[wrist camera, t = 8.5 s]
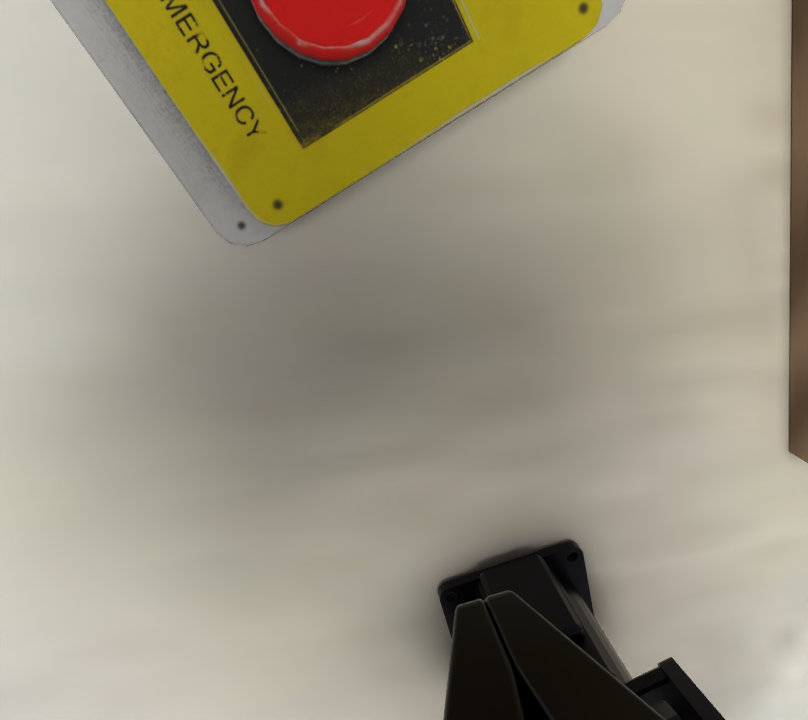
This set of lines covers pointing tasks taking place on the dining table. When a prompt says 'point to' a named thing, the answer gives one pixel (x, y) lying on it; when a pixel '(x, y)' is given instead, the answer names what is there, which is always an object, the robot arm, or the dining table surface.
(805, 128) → the housing
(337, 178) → the emergency button
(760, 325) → the dining table surface
